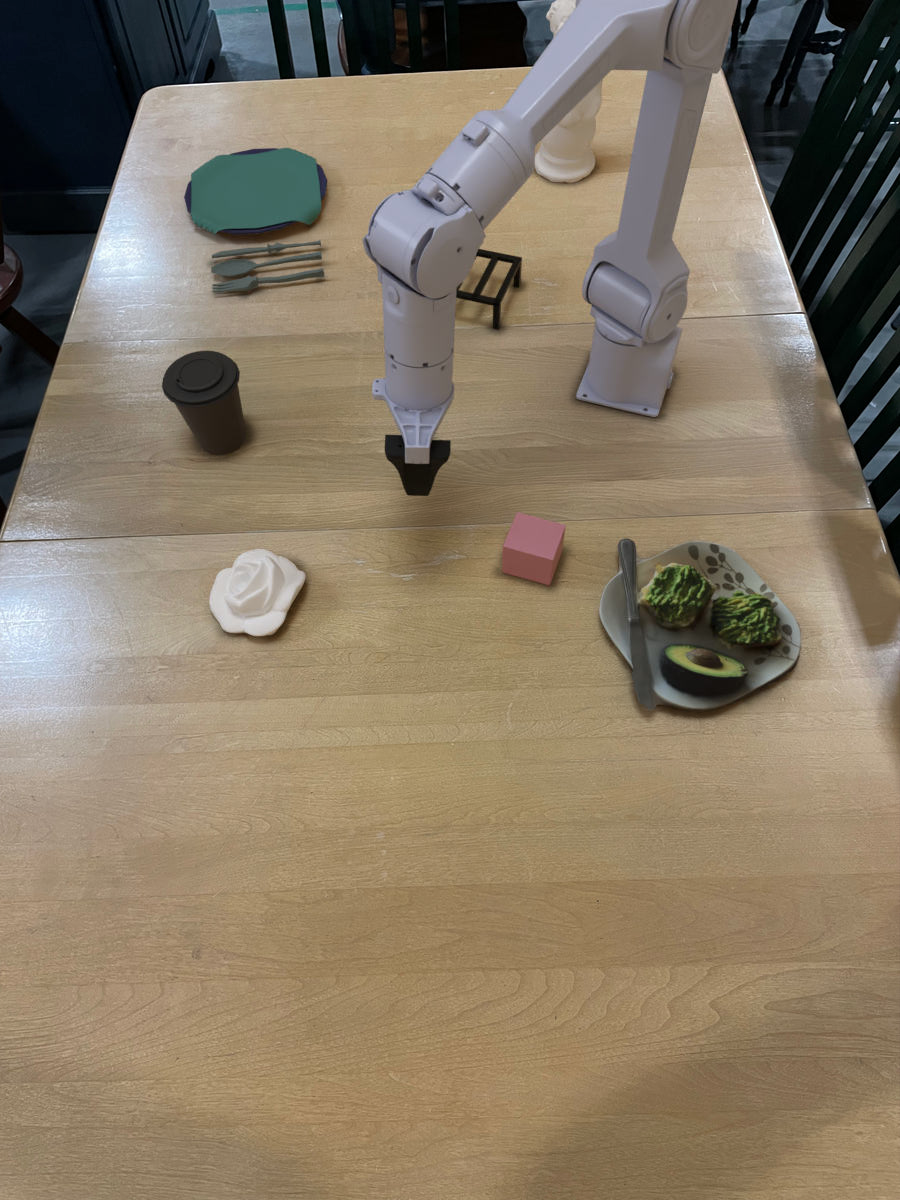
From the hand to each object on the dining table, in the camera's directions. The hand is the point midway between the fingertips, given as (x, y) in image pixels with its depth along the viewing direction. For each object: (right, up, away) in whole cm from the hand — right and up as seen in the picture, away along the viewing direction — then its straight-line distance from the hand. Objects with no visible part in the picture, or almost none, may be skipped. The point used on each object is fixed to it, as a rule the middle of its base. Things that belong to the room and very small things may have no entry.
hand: (418, 462), depth 80 cm
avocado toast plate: (+26, -16, 0) cm, 31 cm away
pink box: (+11, -9, +5) cm, 15 cm away
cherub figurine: (+21, +48, +41) cm, 67 cm away
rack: (+5, +25, +27) cm, 37 cm away
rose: (-16, -13, +4) cm, 21 cm away
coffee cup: (-23, +5, +15) cm, 28 cm away
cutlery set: (-23, +39, +36) cm, 58 cm away
